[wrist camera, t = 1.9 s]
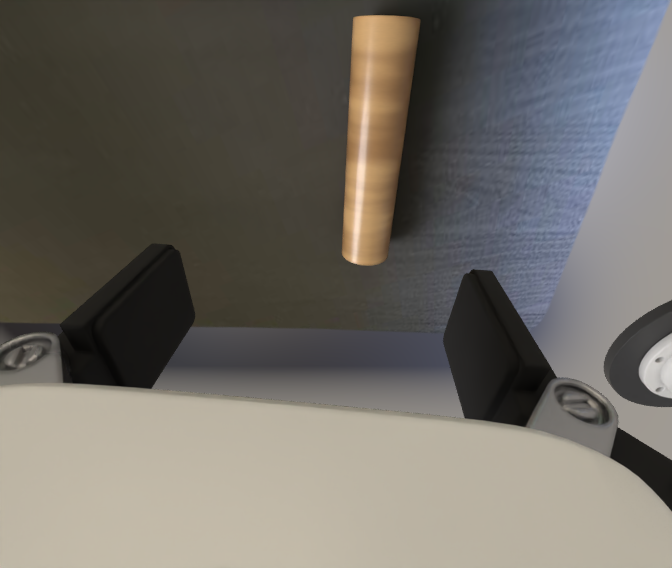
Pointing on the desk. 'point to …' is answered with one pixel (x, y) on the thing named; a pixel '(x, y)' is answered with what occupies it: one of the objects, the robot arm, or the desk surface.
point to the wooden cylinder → (376, 131)
